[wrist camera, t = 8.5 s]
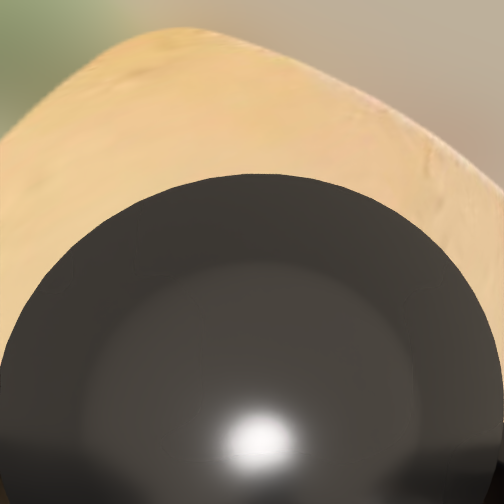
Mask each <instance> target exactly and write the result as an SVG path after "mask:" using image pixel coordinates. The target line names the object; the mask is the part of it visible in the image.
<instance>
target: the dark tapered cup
mask: <svg viewBox="0 0 504 504" xmlns="http://www.w3.org/2000/svg"><path fill="white" fill-rule="evenodd" d="M503 420H504V390H503V381H502V373H501V366H500V361H499V357H498V352H497V348H496V344H495V340H494V337H493V334H492V332H491V329H490V326H489V324H488V321H487V318H486V316H485V313H484V311H483V309H482V307H481V305H480V303H479V301H478V299H477V298H476V296H475V294H474V292H473V290H472V289H471V287H470V286H469V284H468V283H467V281H466V279H465V278H464V277H463V275H462V274H461V272H460V271H459V269H458V268H457V267H456V266H455V264H454V263H453V262H452V261H451V260H450V258H449V257H448V256H447V255H446V254H445V253H444V251H443V250H442V249H441V248H440V247H439V246H438V245H437V244H436V243H435V242H434V241H432V240H431V239H430V238H429V237H428V236H427V235H426V234H425V233H424V232H423V231H422V230H420V229H419V228H418V227H416V226H415V225H414V224H412V223H411V222H410V221H408V220H407V219H405V218H404V217H403V216H401V215H400V214H398V213H397V212H395V211H393V210H392V209H390V208H388V207H386V206H384V205H383V204H381V203H379V202H377V201H375V200H374V199H372V198H369V197H367V196H364V195H362V194H360V193H357V192H355V191H352V190H350V189H347V188H345V187H341V186H338V185H334V184H330V183H327V182H323V181H319V180H315V179H310V178H303V177H296V176H289V175H281V174H241V175H232V176H224V177H216V178H209V179H205V180H201V181H197V182H193V183H189V184H185V185H181V186H177V187H174V188H171V189H168V190H166V191H163V192H161V193H158V194H156V195H153V196H151V197H149V198H146V199H144V200H141V201H139V202H137V203H135V204H133V205H132V206H130V207H128V208H126V209H125V210H123V211H121V212H119V213H118V214H116V215H114V216H112V217H111V218H109V219H107V220H106V221H104V222H103V223H101V224H100V225H99V226H97V227H96V228H95V229H94V230H92V231H91V232H90V233H89V234H87V235H86V236H85V237H83V238H82V239H81V240H80V241H78V242H77V243H76V244H75V245H74V246H72V247H71V248H70V250H69V251H68V252H67V253H66V254H65V255H64V256H63V257H62V258H61V259H60V260H59V261H58V262H57V263H56V264H55V265H54V266H53V268H52V269H51V270H50V271H49V272H48V273H47V274H46V275H45V277H44V278H43V279H42V281H41V282H40V284H39V285H38V287H37V288H36V290H35V291H34V293H33V294H32V296H31V297H30V299H29V300H28V302H27V303H26V305H25V306H24V308H23V310H22V312H21V314H20V316H19V318H18V320H17V322H16V324H15V326H14V329H13V331H12V333H11V335H10V338H9V340H8V342H7V345H6V348H5V351H4V355H3V359H2V362H1V366H0V474H1V478H2V482H3V485H4V489H5V492H6V495H7V497H8V500H9V502H10V504H482V503H483V501H484V498H485V496H486V494H487V492H488V489H489V486H490V483H491V480H492V477H493V474H494V471H495V468H496V464H497V459H498V455H499V450H500V445H501V439H502V430H503Z"/></svg>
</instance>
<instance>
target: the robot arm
mask: <svg viewBox="0 0 504 504" xmlns="http://www.w3.org/2000/svg"><path fill="white" fill-rule="evenodd" d="M0 504H10V502H9V500H8V497H7V495H6V492H5V489H4V485H3V482H2V478H1V474H0ZM482 504H504V422H503V430H502V439H501V445H500V450H499V455H498V459H497V464H496V468H495V471H494V474H493V477H492V480H491V483H490V486H489V489H488V492H487V494H486V496H485V498H484V501H483V503H482Z"/></svg>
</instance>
